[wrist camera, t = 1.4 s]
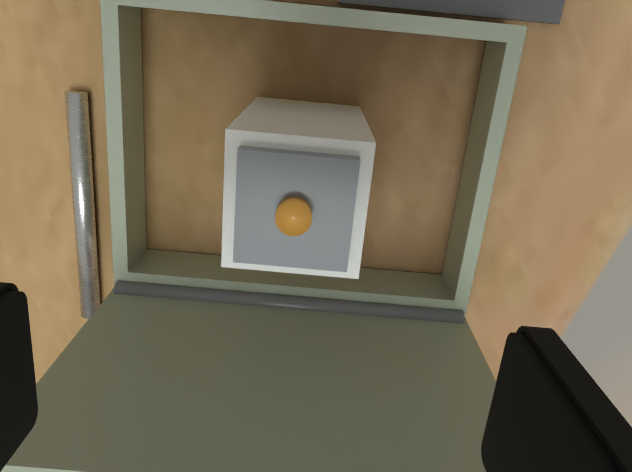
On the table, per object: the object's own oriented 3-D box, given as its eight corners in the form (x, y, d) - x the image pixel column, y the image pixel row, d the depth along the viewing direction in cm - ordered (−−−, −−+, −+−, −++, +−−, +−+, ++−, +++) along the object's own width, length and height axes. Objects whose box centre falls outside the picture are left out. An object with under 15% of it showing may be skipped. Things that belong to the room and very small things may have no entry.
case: (124, -11, 25) (-118, -58, 11) (504, 26, 25) (718, 25, 11) (134, 283, 30) (-22, 495, 16) (447, 310, 30) (548, 539, 17)
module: (257, 96, 26) (218, 135, 17) (359, 106, 26) (379, 150, 17) (251, 195, 28) (215, 281, 19) (348, 203, 28) (360, 293, 19)
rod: (70, 89, 26) (60, 92, 25) (91, 91, 26) (82, 94, 25) (85, 308, 31) (78, 317, 30) (103, 310, 31) (96, 319, 30)
